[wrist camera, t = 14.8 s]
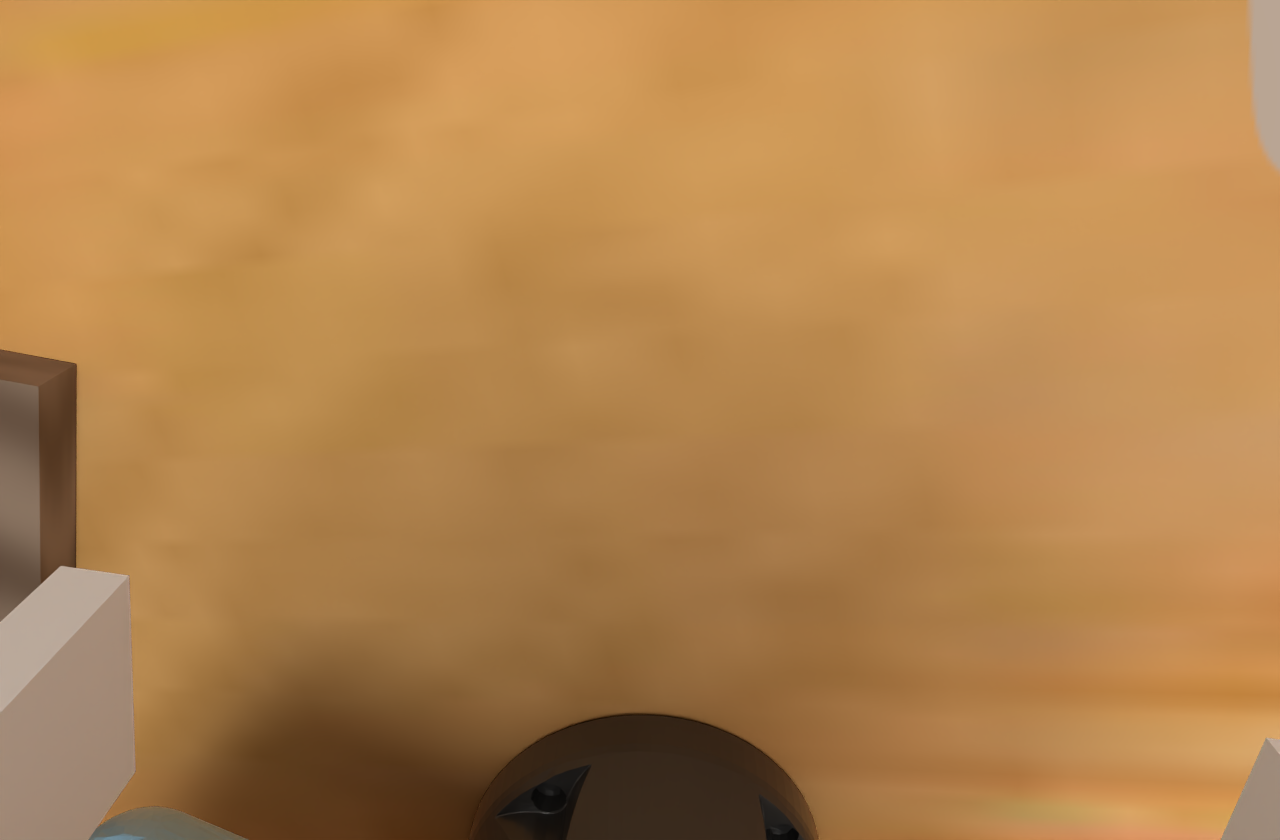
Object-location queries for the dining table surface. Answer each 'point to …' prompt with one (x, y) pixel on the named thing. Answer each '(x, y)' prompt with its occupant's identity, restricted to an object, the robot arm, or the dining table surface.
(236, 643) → the dining table surface
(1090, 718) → the dining table surface
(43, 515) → the board
